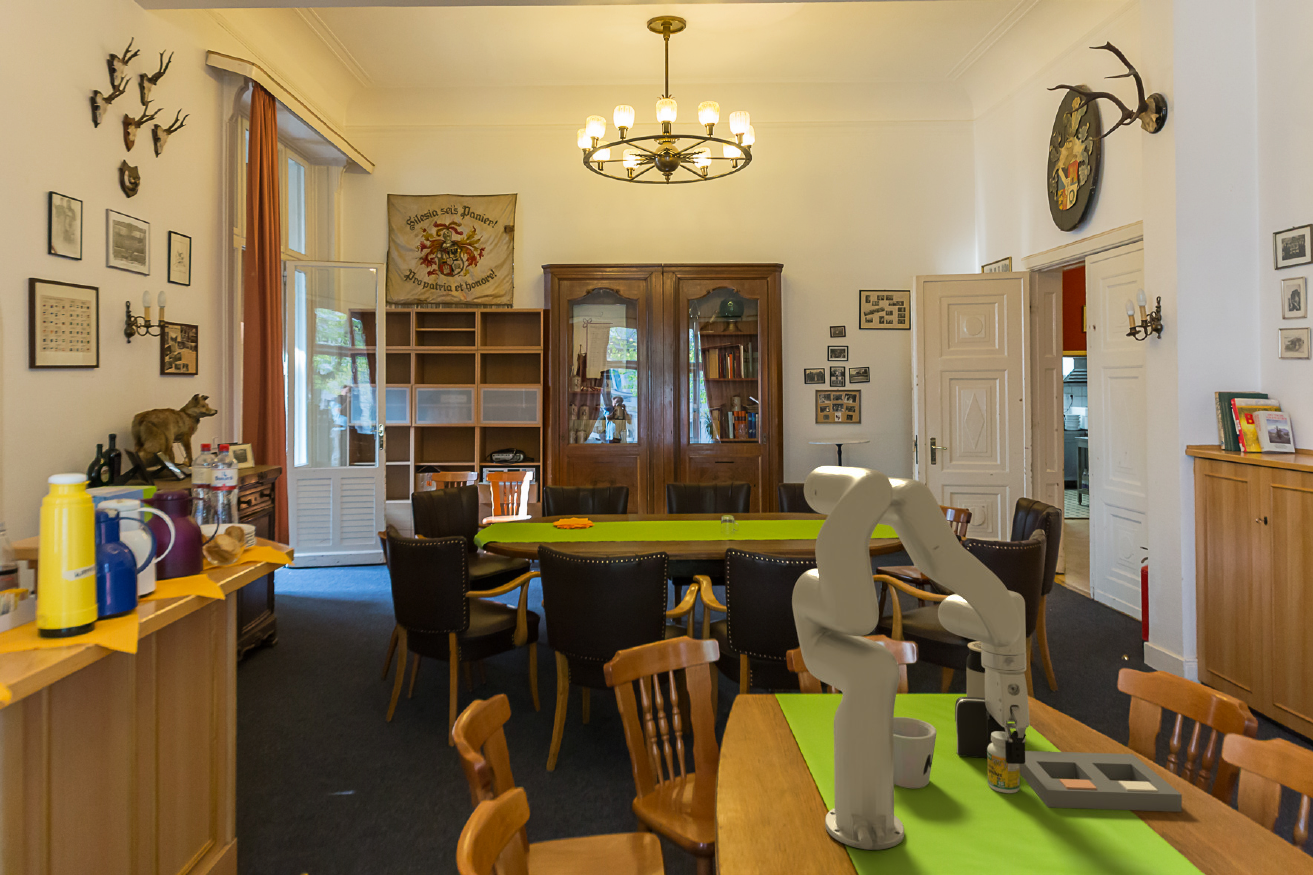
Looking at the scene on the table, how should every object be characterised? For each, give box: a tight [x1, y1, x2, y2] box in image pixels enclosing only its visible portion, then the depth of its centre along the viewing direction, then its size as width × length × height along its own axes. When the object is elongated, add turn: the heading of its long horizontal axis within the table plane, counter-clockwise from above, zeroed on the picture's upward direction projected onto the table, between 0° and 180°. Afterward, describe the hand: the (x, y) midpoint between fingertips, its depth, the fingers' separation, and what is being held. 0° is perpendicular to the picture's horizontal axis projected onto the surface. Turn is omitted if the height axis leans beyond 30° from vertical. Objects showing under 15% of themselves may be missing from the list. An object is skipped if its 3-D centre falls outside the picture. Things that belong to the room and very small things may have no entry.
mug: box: [893, 716, 937, 789], centre depth 144 cm, size 10×15×10 cm
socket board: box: [1019, 750, 1183, 813], centre depth 139 cm, size 16×22×3 cm
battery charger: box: [954, 696, 992, 759], centre depth 154 cm, size 7×4×11 cm, turn 79°
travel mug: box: [966, 641, 985, 698], centre depth 167 cm, size 8×8×18 cm
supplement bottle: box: [987, 731, 1021, 794], centre depth 140 cm, size 5×5×10 cm
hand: (1005, 750), depth 140 cm, fingers open, 9 cm apart
